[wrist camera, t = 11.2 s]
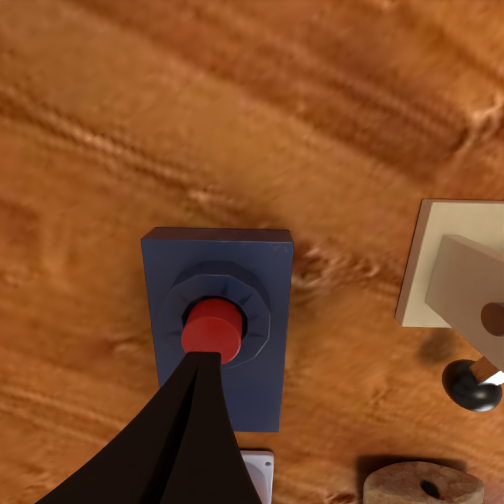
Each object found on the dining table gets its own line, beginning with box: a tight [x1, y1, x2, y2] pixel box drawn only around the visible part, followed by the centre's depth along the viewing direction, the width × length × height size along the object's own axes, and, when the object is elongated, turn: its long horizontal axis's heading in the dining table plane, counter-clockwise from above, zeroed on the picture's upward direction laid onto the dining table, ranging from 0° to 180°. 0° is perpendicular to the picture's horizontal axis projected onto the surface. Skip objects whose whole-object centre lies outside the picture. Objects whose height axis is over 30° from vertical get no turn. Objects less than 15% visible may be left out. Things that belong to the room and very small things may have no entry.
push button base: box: [141, 227, 294, 432], centre depth 17 cm, size 14×8×4 cm, turn 179°
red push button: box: [181, 298, 242, 364], centre depth 14 cm, size 3×3×2 cm
